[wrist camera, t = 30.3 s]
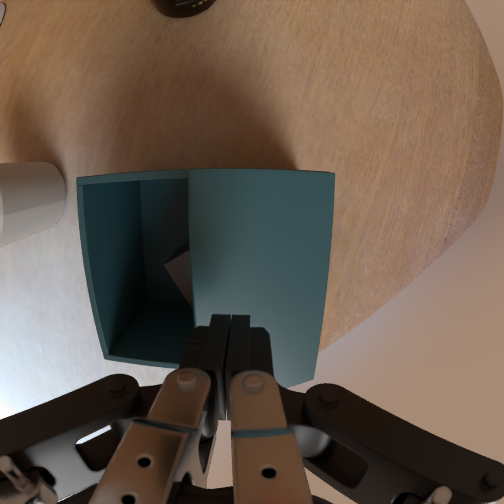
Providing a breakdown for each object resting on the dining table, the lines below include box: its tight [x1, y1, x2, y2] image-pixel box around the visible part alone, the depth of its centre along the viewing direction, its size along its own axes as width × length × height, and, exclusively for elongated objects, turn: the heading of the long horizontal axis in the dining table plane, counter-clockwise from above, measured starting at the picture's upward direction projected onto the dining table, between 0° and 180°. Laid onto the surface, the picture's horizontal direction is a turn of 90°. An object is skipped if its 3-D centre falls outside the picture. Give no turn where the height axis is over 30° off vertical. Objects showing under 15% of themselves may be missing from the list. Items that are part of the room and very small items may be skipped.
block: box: [163, 242, 193, 310], centre depth 24 cm, size 5×5×9 cm
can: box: [0, 162, 66, 247], centre depth 19 cm, size 8×8×12 cm
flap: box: [188, 168, 335, 388], centre depth 15 cm, size 7×13×1 cm, turn 179°
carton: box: [77, 169, 324, 369], centre depth 22 cm, size 15×13×10 cm
